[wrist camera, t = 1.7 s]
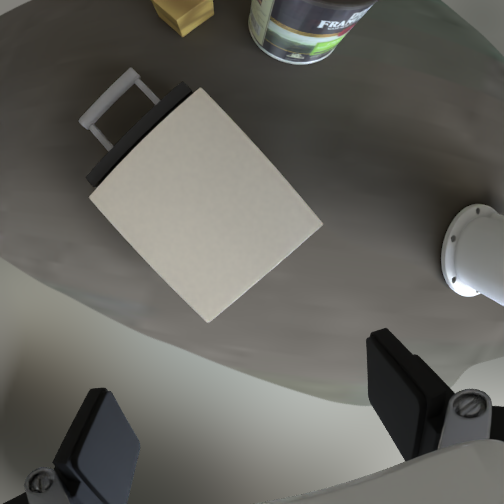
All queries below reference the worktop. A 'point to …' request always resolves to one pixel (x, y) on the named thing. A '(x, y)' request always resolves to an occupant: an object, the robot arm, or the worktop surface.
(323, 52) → the coffee can
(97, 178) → the dark grey storage bin
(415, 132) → the worktop surface
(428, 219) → the worktop surface
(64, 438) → the robot arm
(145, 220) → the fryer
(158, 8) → the cube
